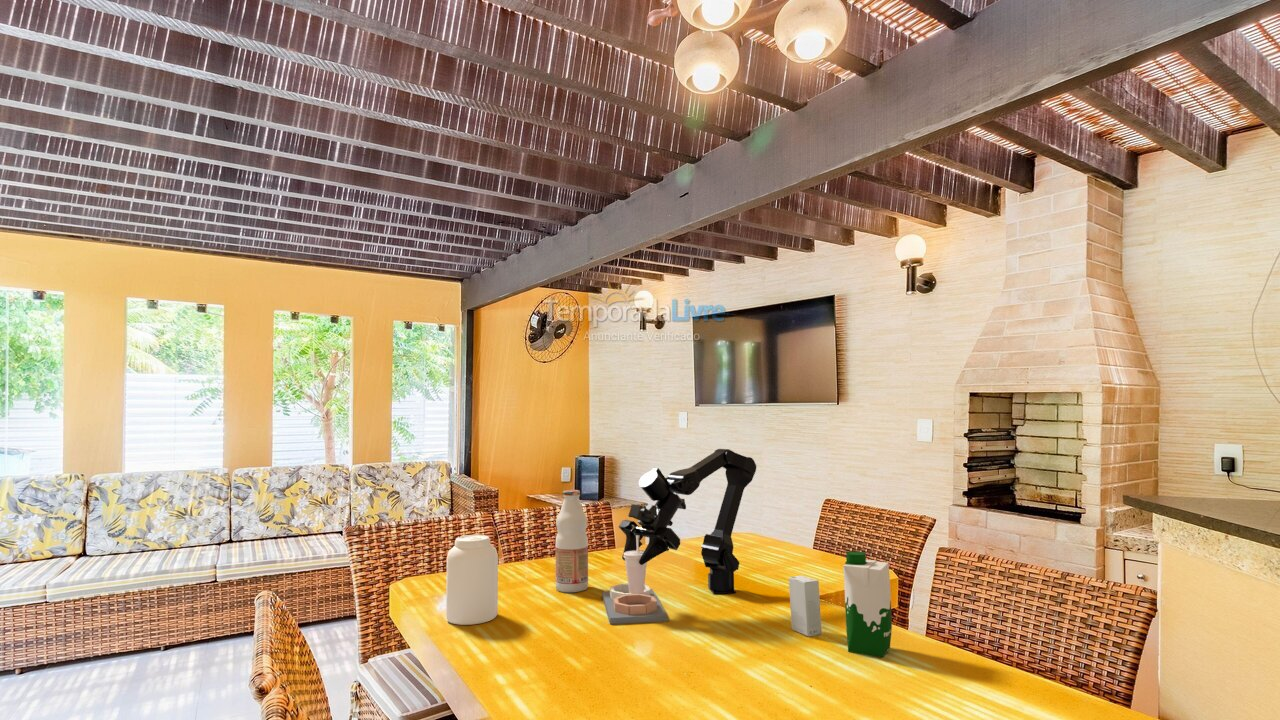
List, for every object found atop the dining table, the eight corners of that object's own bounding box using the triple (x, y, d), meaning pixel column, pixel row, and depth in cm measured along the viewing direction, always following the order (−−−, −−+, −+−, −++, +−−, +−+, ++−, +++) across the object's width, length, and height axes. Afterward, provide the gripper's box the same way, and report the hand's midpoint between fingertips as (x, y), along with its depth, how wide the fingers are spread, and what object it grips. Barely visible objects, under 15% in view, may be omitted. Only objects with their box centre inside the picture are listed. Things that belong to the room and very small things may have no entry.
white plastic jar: (507, 617, 166) (507, 536, 168) (463, 629, 157) (464, 543, 159) (479, 607, 175) (479, 530, 176) (436, 618, 166) (437, 537, 167)
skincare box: (822, 634, 151) (820, 580, 152) (807, 637, 149) (805, 582, 150) (804, 626, 157) (803, 574, 157) (789, 629, 155) (788, 576, 155)
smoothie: (641, 596, 163) (640, 538, 164) (619, 593, 166) (618, 536, 167) (653, 589, 169) (652, 534, 170) (631, 587, 172) (630, 532, 173)
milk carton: (853, 640, 147) (850, 548, 149) (896, 647, 142) (892, 552, 144) (842, 652, 140) (839, 555, 141) (887, 660, 135) (883, 560, 137)
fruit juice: (557, 594, 187) (556, 493, 189) (554, 585, 196) (553, 489, 198) (590, 591, 189) (589, 492, 191) (585, 583, 198) (585, 488, 200)
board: (652, 594, 185) (652, 581, 186) (667, 621, 162) (667, 606, 162) (602, 596, 183) (602, 583, 184) (609, 624, 160) (609, 609, 160)
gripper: (623, 489, 179) (591, 536, 171) (670, 495, 165) (637, 547, 157) (646, 515, 184) (615, 562, 176) (694, 523, 170) (663, 575, 162)
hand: (631, 561), depth 167 cm, fingers closed on smoothie, 6 cm apart
